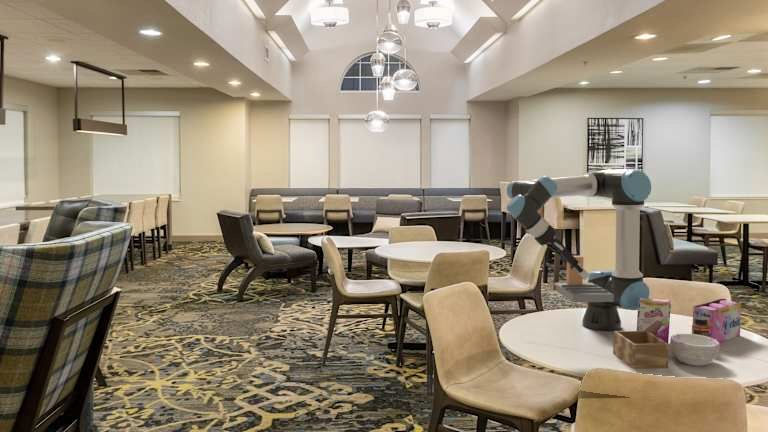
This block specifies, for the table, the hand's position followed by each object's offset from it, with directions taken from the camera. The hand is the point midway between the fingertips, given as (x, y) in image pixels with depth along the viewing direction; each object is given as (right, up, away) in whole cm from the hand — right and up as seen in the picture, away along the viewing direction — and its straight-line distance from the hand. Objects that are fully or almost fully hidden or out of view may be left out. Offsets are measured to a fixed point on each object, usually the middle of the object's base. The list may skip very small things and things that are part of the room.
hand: (584, 276), depth 233 cm
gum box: (+55, -25, +14) cm, 62 cm away
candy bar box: (+28, -26, +8) cm, 39 cm away
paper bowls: (+33, -28, -14) cm, 45 cm away
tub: (+15, -28, -13) cm, 34 cm away
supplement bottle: (+42, -27, 0) cm, 50 cm away
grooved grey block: (-3, -6, -8) cm, 11 cm away
